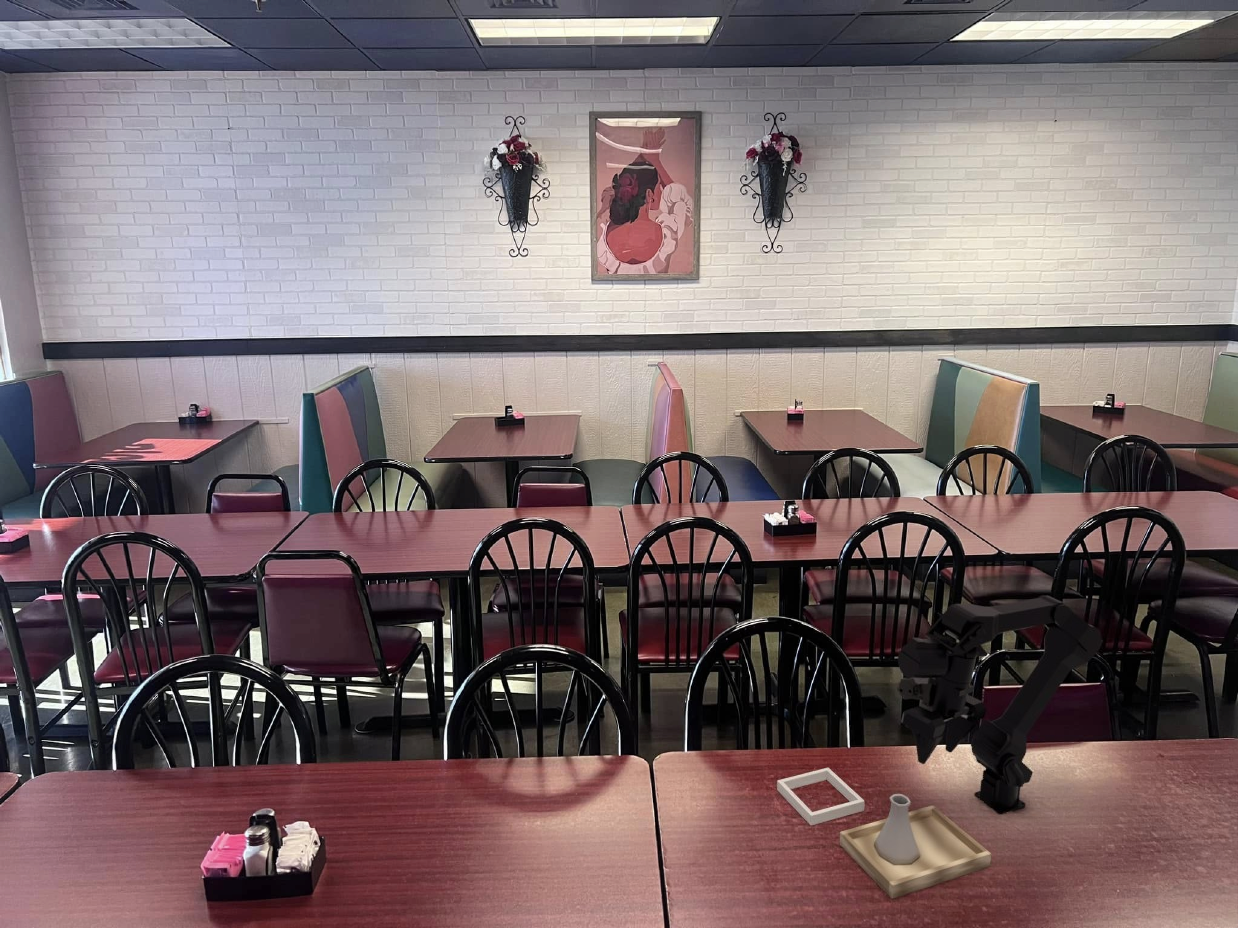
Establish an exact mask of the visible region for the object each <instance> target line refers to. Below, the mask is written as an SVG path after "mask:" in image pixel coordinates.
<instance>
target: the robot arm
mask: <svg viewBox="0 0 1238 928" xmlns="http://www.w3.org/2000/svg"><path fill="white" fill-rule="evenodd" d="M1039 626H1045V627H1046V628H1047V631H1046V634H1045V635H1044V641H1043V642H1044V643H1043V645H1044V648H1043V650H1044V651H1043V655H1042V656H1041V658H1040V659H1039V661H1037V664H1036V665H1035V667H1034V668H1033V670H1032V671H1031V673H1030V674H1029V676H1028V677H1027V679H1025V682H1024V683H1023V684H1022V686H1021V687H1020V689H1019V690H1018V692H1017V694H1016V695H1015V696H1014V697H1013V699H1012V700H1011V702H1010V704H1009V705H1008V707H1006V709H1005V711H1004V712H1003V714H1002V716H1000V717H998V718H997V719H995V720H992V721H990V720H989V719H988V718H986V717H985V716H986V712H987V707H986V704H985V703H984V701H983V700H980V699H978V698H975V697H973V696H971V695H969V694H971V693H973V692H974V688H975V686H974V685H972V684H971V681H972V677H973V673H974V669H975V664H976V659H977V657H987V656H988V653H987V651H986V650H985V648H984V647H983V645H985V644H987V643H990V642H993V641H994V639H995V638H996V637H997V636H998V635H1000V634H1002V633H1008V632H1012V631H1017V630H1023V629H1028V628H1033V627H1034V628H1035V627H1039ZM945 633H946V634H947V635H946V634H945ZM924 635H925V637H926V638H919V637H911V638H910V639H909V643H908V644H907V643H906V644H904V645H903V646H902V647H901V649H900V650H899V651H898V655H897V663H898V668H899V670H900V673H901V674H902V675H903V676H904V677H902V678H901V679H900V681H899V682H898V686H897V688H896V690H897V692H898V694H899V695H900V697H902V699H903V700H917V701H918V700H919V701H922V702H921V704H922V705H923V706H926V707H930V709H931V710H932V711H931V710H929V709H927V708H925V707H922V706H921V705H917V706H915V707H912V708H908V709H906V710H904V711H903V712H902V716H901V721H900V722H901V724H903V725H904V726H905V727H906V728H907V729H909V730H911V732H912V733H913V736H914V741H915V747H916V756H917V762H918V763H920V764H922V765H925V764H926V763H927V762H928V760H929V759H930V757H931V756H932V754H933V753H934V751H935V749H936V748H937V747H938V745H939V743H940V742H941V740H942V739H943V737H944V735H943V733H944V731H945V728H947V729H946V737H945V748H944V749H945V751H946V752H948V753H952V752H953V751H955V749H956V748H957V747H958V746H959V744H960V743H961V742H962V741H963V740H964V739H965V738H966V737H967V735H968V734H970V733H971V731H972V730H973V729H974V728H975V727H976V726H977V725H978V724H980V721H981V720H982V719H984V720H983V721H981V724H980V726H979V727H978V729H977V730H976V731H975V732H974V733H973V734H972V737H973V738H972V740H971V743H970V747H971V754H972V755H973V756H974V758H975V761H976V762H977V763H978V764H979V765H981V766H982V767H984V769H983V771H982V779H981V780H980V790H979V791H975V792H974V797H975V798H977V799H978V800H979V801H980V802H982V803H984V804H985V805H986V806H987V807H989V808H990V809H991V810H992V811H994V812H995V813H996V814H998V815H1004V814H1007V813H1011V812H1013V811H1016V810H1021V809H1023V808H1026V802H1024V801H1023V800H1021V799H1020V794H1021V788H1022V787H1024V784H1028V783H1030V781H1031V778H1032V776H1033V773H1034V772H1033V771H1032V770H1031V769H1030V767H1028V766H1027V764H1025V763H1024V762H1023V761H1024V760H1023V759H1024V758H1025V756H1026V755H1027V744H1028V743H1027V738H1028V737H1027V736H1028V733H1029V732H1030V730H1031V729H1032V727H1033V726H1034V725H1035V723H1036V722H1037V720H1038V719H1039V717H1040V716H1041V715H1042V713H1043V711H1044V710H1045V709H1046V707H1047V706H1048V704H1049V703H1050V701H1051V699H1052V698H1053V697H1054V696H1055V694H1056V693H1057V691H1058V689H1059V688H1060V686H1061V685H1062V684H1063V682H1064V681H1065V679H1066V678H1067V677H1068V675H1069V674H1070V672H1071V671H1072V670H1074V669H1076V668H1078V667H1081V666H1083V665H1085V664H1087V663H1089V661H1091V660H1092V658H1093V657H1094V656H1095V655H1096V654H1097V653H1098V652H1099V650H1100V649H1101V647H1102V644H1103V639H1102V633H1101V630H1100V629H1099V628H1098V627H1096V626H1093V625H1092V624H1089V623H1087V621H1085V620H1084V619H1083V618H1081V617H1080V616H1079V615H1078V614H1076V613H1075V612H1074V611H1073V610H1072V609H1071V608H1070V607H1069V606H1068V605H1067V604H1066V603H1065V602H1063V601H1060V600H1058V599H1056V598H1054V597H1052V596H1049V595H1040V596H1038V597H1036V598H1031V599H1025V600H1020V601H1015V602H1009V603H1003V604H996V605H993V606H982V605H977V604H971V603H954V604H951V605H949V606H947V608H946V610H945V611H944V612H943V613H942V614H941V616H940V617H938V619H937V620H936V621H935V622H934V623H933V625H932V626H931V627H930V628H929V629H928V630H927V631H926V632H925V634H924ZM948 635H949V636H950V637H948ZM951 637H952V638H951ZM953 638H954V639H955V640H957V641H955V640H954V639H953ZM985 718H986V719H985ZM946 722H947V726H946Z"/></svg>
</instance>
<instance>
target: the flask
mask: <svg viewBox="0 0 1238 928" xmlns="http://www.w3.org/2000/svg"><path fill="white" fill-rule="evenodd" d="M889 801H890V810H889V813H888V817H887V818H886V819H887V820H886V822H885V824H884V826H883V828H882V830H881V832H880V833H879V835H878V837H877V838H876V840H875V842H874V845H875V848H876V850H877V852H878V854H879V855H880V856H882V857H883V858H885V859H887V860H888V861H890V862H892V863H893V864H910V863H912V862H914V861H915V860H916V859H917V858H919V857H920V852H919V849H918V847H917V844H916V841H915V838H914V835H913V832H912V828H911V825H910V821H909V814H908V812H909V807H910V806H911V800H910V798H909V797H908V796H906V795H904V794H902V793H893V794H892V795H891V796H889Z"/></svg>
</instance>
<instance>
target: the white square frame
mask: <svg viewBox="0 0 1238 928" xmlns="http://www.w3.org/2000/svg"><path fill="white" fill-rule="evenodd" d="M823 781H828V782H829V783H830V785H832V786H833V788H835V789H836V790H837V791H838V792H839V793H840V794H841V795H843V796H844V798H845V799H847V800H848V801H849V802H845V803H842V804H837V805H835V806H831V807H827V808H823V809H820V810H819V809H818V810H816V811H812V809H810V808H809V807H808V806H807V805H806V804H805V803H804V802H803V800H801V799H800V797H798V796H797V795H796V793H795V792H793V791H792V790H793V789H797V788H800V787H804V786H807V785H812V784H816V783H820V782H823ZM776 790H777V791H778V793H780V795H781V796H782V797H783V798H784V799H785V800H786V802H788V803H789V804H790V805H791V806H792V807H793V809H795V810H796V811H797V813H798V814H799V815H800V816H801V817H802V818H803V819H804V820H805V821H806V823H808V824H809V825H810V826H814V825H818V824H821V823H825V822H828V821H833V820H836V819H839V818H843V817H846V816H850V815H853V814H857V813H861V812H864V811H865V803H866V802H865V800H864V799H863V798H862V797H861V796H860V795H859V794H858V793H857V792H855V791H854V790H853V789H852V788H851V787H850V786H849V785H848V784H847V783H846V782H845V781H843V779H841V777H839V776H838V775H837V774H836V773H835V772H834V771H833V770H832V769H830V767H825V768H821V769H818V770H813V771H810V772H805V773H802V774H798V775H795V776H794V775H793V776H790V777H786V778H782V779H778V780H776Z"/></svg>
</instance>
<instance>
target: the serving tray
mask: <svg viewBox="0 0 1238 928" xmlns="http://www.w3.org/2000/svg"><path fill="white" fill-rule="evenodd" d="M908 814H909V821H910V825H911V828H912V832H913V835H914V838H915V841H916V844H917V847H918V849H919V852H920V857H919V858H917V859H916V860H915V861H914V862H912V863H910V864H893V863H892V862H890V861H888V860H887V859H885V858H883V857H882V856H880V855H879V854H878V852H877V850H876V848H875V845H874V842H875V840H876V838H877V837H878V835H879V833H880V832H881V830H882V828H883V826H884V824H885V822H886V820H887V818H884V819H880V820H877V821H873V822H871V823H867V824H862V825H858V826H856V827H853V828H849V829H846V830H842V831H840V832H839V846H840V847H841V848H843V850H845V852H846V853H847V854H848V855H849V856H850V857H851V858H852V859H853V860H854V861H855V862H856V864H858V865H859V866H860V868H862V869H863V871H864V872H865V873H867V875H868V876H869V877H870V878H871V879H872V880H873V881H874V882H875V883H876V884H877V885H878V886H879V887H880V889H882V890H883V891H884V892H885V893H886V894H887V896H888V897H890V898H891V900H893V899H896V898H900V897H902V896H905V895H907V894H911V893H914V892H918V891H921V890H923V889H927V888H929V887H932V886H936V885H939V884H941V883H944V882H949V881H951V880H953V879H956V878H960V877H963V876H965V875H969V874H972V873H975V872H977V871H981V870H984V869H986V868H989V867H991V859H992V853H991V852H990V851H989V850H987V849H986V848H985V847H984V846H983V845H981V844H980V843H979V842H978V841H976V840H975V839H974V838H973V837H971V835H969V833H966V831H964V830H963V829H962V828H961V827H960V826H958V825H957V824H956V823H955V822H953V820H951V819H950V818H948V817H947V816H946V815H945V814H944V813H943V812H941V810H939V809H938V808H937V807H936V806H934V805H933V804H932V805H928V806H925V807H922V808H918V809H915V810H912V811H908Z"/></svg>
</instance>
